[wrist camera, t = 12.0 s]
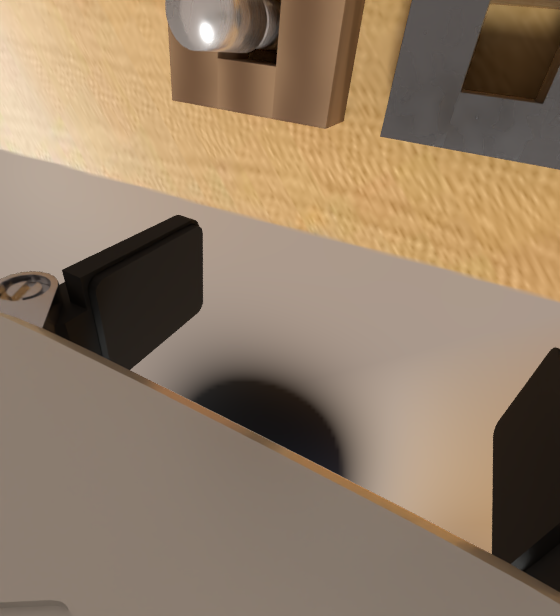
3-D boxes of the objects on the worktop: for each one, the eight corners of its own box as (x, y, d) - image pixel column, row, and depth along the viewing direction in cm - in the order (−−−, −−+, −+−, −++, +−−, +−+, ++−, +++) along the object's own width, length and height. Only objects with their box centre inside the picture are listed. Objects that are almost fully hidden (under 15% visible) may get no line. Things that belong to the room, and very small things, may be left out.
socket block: (701, -64, 21) (740, -86, 18) (579, 163, 28) (592, 175, 25) (438, -71, 25) (433, -91, 22) (389, 129, 31) (380, 136, 28)
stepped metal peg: (284, -16, 29) (196, -52, 20) (307, 35, 31) (232, 22, 21) (248, 18, 32) (154, 0, 22) (271, 64, 33) (189, 64, 23)
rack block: (378, -73, 26) (360, -97, 22) (343, 121, 33) (325, 128, 29) (202, -78, 30) (160, -99, 26) (204, 96, 36) (172, 100, 33)
